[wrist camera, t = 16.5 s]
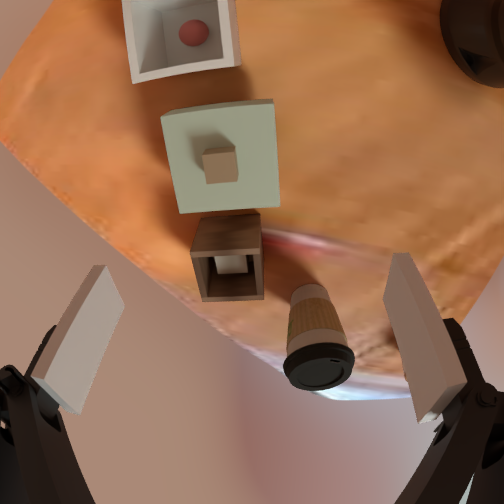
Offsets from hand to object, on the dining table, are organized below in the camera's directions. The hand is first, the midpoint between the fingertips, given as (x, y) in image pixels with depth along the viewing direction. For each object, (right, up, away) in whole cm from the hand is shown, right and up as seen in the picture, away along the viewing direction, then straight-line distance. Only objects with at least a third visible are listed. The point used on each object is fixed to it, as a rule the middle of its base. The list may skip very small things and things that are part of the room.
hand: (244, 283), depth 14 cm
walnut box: (-2, +3, +30) cm, 30 cm away
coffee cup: (+10, -6, +36) cm, 38 cm away
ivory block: (-2, +3, +30) cm, 30 cm away
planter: (-6, +26, +14) cm, 30 cm away
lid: (-3, +13, +20) cm, 24 cm away
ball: (-6, +25, +13) cm, 29 cm away
